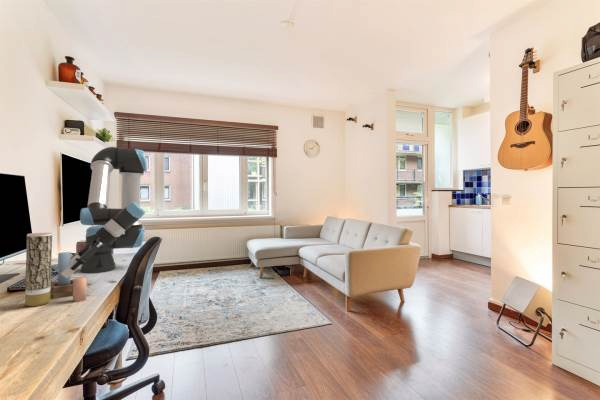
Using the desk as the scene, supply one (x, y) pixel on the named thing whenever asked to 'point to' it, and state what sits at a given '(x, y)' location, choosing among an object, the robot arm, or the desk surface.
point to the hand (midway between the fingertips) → (64, 272)
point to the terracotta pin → (79, 289)
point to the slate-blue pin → (63, 267)
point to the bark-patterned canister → (38, 269)
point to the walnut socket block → (61, 290)
